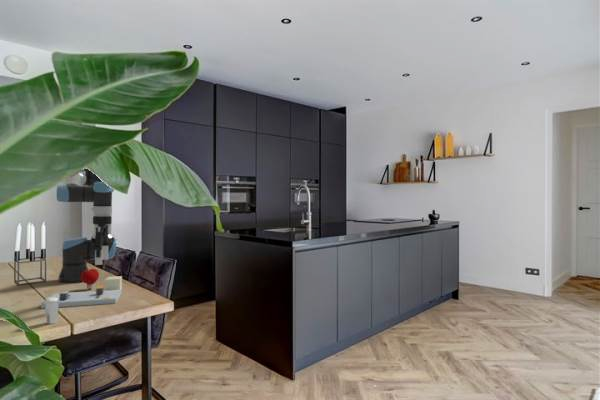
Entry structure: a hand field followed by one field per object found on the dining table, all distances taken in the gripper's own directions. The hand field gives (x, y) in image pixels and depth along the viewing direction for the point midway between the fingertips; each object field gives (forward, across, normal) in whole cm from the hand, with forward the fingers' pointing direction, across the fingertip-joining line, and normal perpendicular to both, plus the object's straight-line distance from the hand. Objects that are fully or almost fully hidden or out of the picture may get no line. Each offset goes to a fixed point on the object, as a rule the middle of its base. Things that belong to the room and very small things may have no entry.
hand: (101, 262), depth 164 cm
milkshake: (+17, +30, -10) cm, 36 cm away
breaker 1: (+15, +4, -14) cm, 21 cm away
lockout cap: (+17, -13, +3) cm, 22 cm away
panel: (+17, 0, -7) cm, 18 cm away
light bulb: (+17, -21, -9) cm, 29 cm away
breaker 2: (+15, -2, -1) cm, 15 cm away
